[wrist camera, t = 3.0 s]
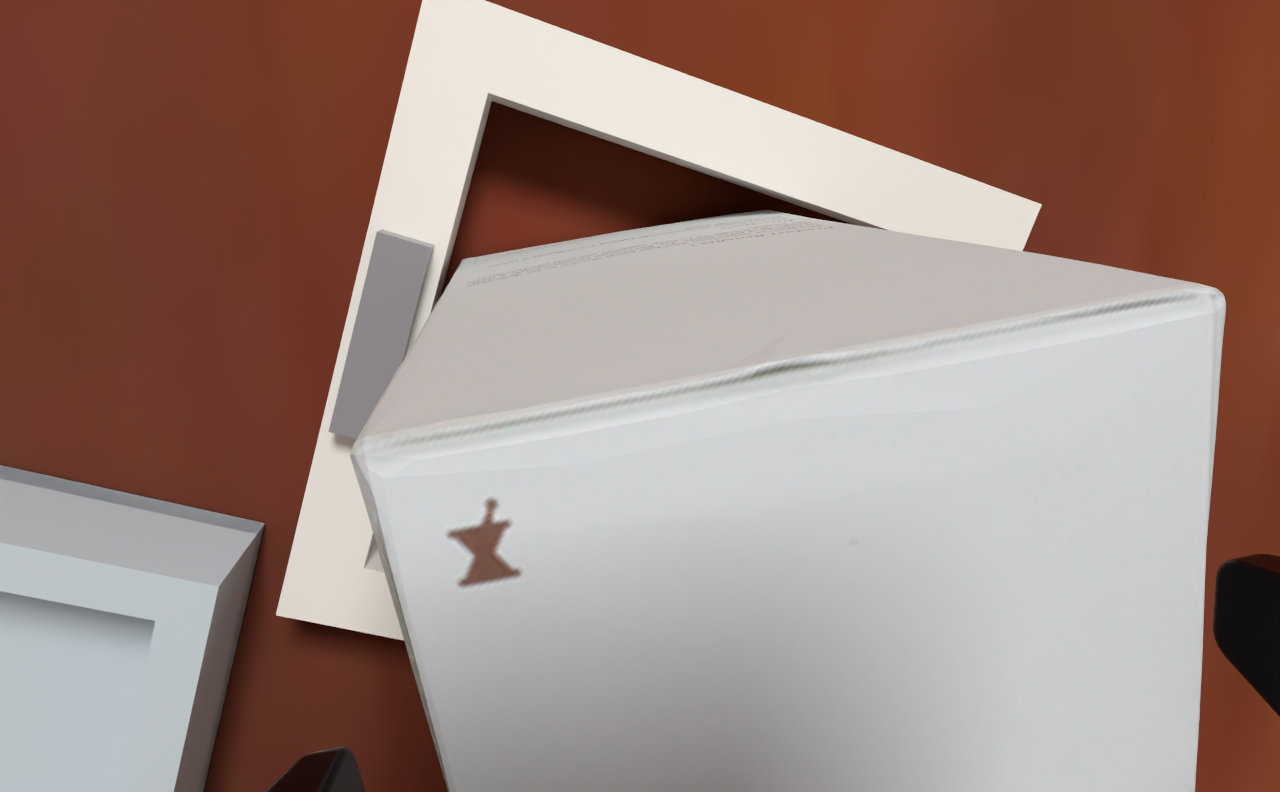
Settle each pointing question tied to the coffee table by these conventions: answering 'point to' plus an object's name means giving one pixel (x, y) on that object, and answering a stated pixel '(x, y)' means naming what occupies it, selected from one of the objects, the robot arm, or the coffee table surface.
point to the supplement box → (801, 514)
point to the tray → (114, 635)
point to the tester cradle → (611, 110)
